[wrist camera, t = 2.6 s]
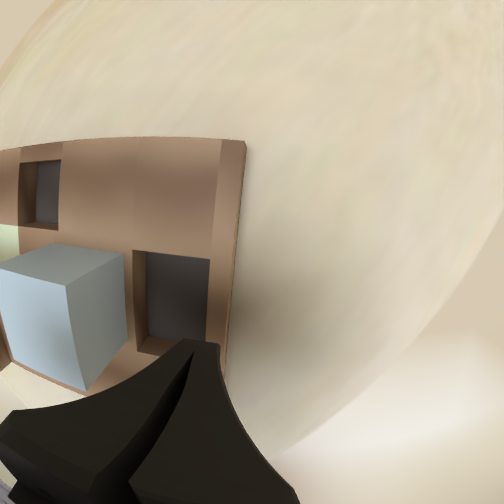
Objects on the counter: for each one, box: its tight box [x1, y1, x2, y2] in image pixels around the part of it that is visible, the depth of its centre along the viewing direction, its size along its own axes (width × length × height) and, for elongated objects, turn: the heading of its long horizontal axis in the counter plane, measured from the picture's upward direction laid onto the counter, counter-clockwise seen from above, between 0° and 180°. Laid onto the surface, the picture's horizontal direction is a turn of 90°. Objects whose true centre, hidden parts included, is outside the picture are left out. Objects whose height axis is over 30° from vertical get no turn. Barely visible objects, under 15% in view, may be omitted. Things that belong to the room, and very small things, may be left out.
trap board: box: [0, 137, 247, 396], centre depth 14 cm, size 17×19×4 cm
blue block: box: [0, 243, 128, 392], centre depth 11 cm, size 5×5×5 cm
